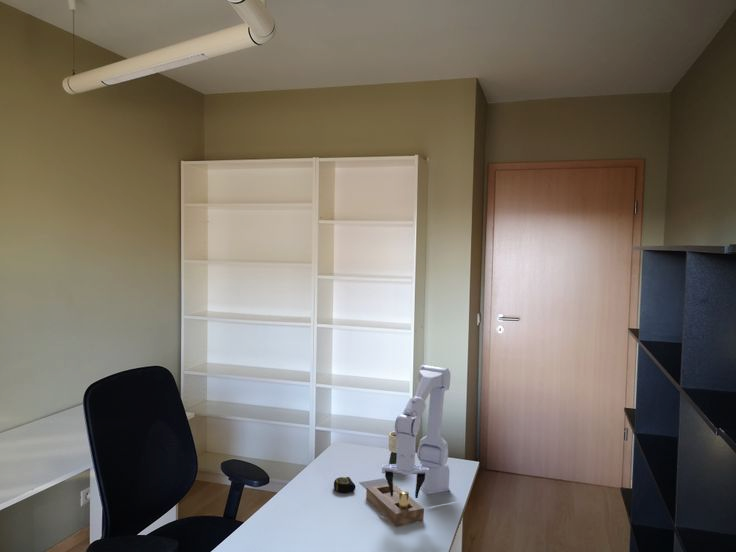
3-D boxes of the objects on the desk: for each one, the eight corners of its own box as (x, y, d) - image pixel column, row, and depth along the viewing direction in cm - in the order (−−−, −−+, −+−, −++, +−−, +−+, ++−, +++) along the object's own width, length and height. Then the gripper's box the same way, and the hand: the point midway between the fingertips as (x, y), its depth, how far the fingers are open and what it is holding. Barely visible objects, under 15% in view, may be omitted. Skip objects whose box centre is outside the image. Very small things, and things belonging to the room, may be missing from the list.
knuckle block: (392, 494, 198) (392, 482, 198) (423, 520, 180) (423, 508, 180) (366, 499, 194) (366, 487, 193) (395, 526, 176) (395, 513, 175)
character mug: (396, 474, 215) (398, 440, 214) (381, 469, 219) (382, 435, 218) (412, 465, 224) (413, 432, 223) (396, 460, 228) (398, 428, 227)
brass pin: (403, 514, 184) (405, 490, 183) (409, 518, 181) (410, 493, 181) (396, 516, 182) (397, 492, 182) (401, 520, 180) (403, 495, 179)
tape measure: (355, 494, 197) (356, 483, 197) (336, 496, 195) (336, 485, 195) (350, 485, 204) (350, 475, 204) (331, 487, 202) (331, 477, 202)
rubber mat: (383, 479, 210) (383, 478, 210) (397, 490, 201) (397, 489, 201) (358, 483, 206) (358, 482, 206) (371, 495, 197) (371, 494, 197)
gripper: (382, 456, 177) (380, 500, 178) (429, 459, 176) (427, 503, 177) (383, 448, 184) (381, 490, 185) (428, 451, 183) (426, 493, 184)
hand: (404, 495), depth 181 cm, fingers open, 7 cm apart
